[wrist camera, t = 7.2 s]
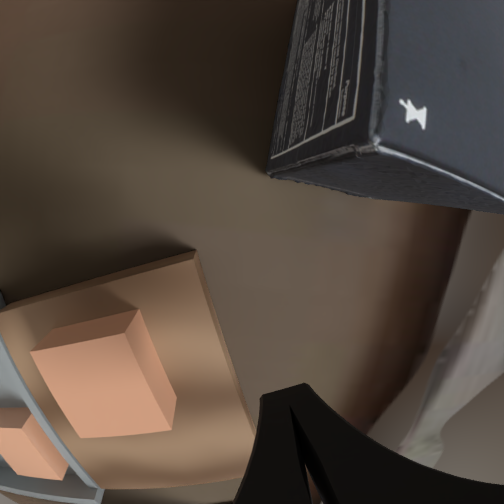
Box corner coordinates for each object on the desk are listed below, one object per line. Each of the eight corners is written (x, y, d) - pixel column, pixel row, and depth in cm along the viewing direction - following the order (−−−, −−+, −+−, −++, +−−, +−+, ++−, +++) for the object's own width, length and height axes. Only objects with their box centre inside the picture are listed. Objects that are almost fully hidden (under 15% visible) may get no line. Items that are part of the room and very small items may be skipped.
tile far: (71, 457, 17) (62, 480, 14) (28, 455, 16) (17, 474, 14) (36, 406, 15) (21, 428, 13) (-6, 407, 15) (-21, 425, 13)
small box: (382, 204, 16) (552, 234, 5) (262, 177, 15) (354, 157, 5) (400, 34, 14) (520, -41, 4) (295, -2, 13) (364, -135, 3)
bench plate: (263, 450, 18) (268, 471, 16) (106, 470, 17) (101, 488, 16) (196, 249, 15) (193, 258, 13) (10, 302, 14) (-8, 314, 12)
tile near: (176, 397, 14) (171, 430, 12) (94, 409, 14) (80, 438, 12) (139, 308, 13) (124, 332, 11) (52, 329, 13) (29, 351, 11)
